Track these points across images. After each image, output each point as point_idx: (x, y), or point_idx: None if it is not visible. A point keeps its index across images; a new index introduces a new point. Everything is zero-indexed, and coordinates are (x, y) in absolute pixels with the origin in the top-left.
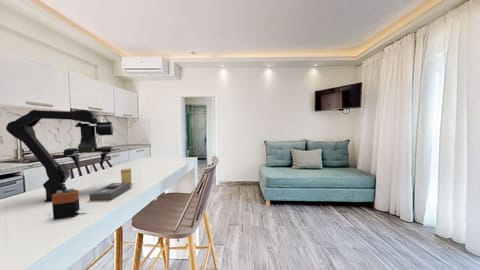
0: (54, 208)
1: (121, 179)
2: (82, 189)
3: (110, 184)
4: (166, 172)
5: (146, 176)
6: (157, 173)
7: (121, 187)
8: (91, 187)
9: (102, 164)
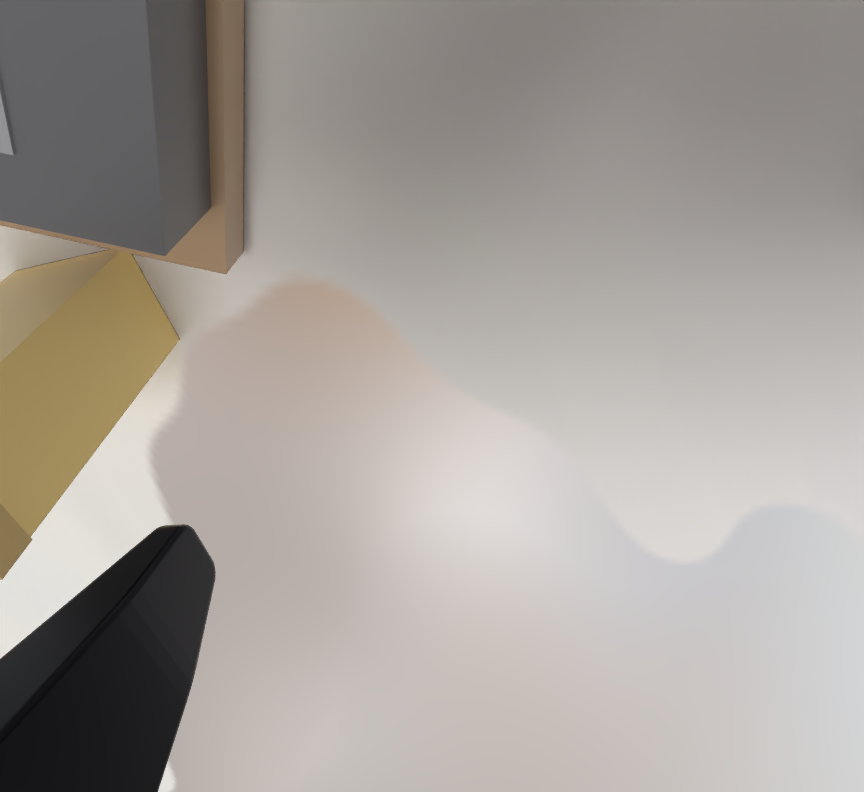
0: None
1: (23, 339)
2: (771, 463)
3: (122, 150)
4: None
5: None
6: None
7: None
8: (666, 509)
9: (90, 599)
